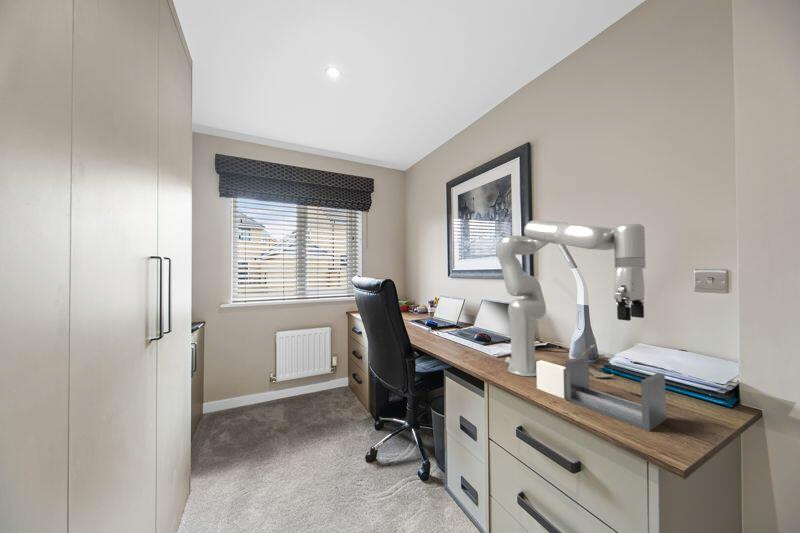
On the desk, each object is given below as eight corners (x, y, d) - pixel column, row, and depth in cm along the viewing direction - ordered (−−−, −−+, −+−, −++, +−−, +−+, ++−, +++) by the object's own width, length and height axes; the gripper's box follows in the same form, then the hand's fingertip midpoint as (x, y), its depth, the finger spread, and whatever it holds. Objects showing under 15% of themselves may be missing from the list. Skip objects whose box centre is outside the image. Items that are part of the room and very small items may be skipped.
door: (536, 388, 104) (536, 361, 104) (541, 386, 105) (541, 360, 106) (564, 398, 95) (563, 369, 96) (569, 396, 97) (568, 367, 97)
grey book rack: (566, 400, 94) (565, 361, 94) (584, 392, 100) (583, 355, 101) (649, 431, 75) (647, 382, 76) (666, 419, 81) (664, 374, 82)
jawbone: (594, 380, 125) (617, 376, 111) (578, 384, 124) (599, 380, 111) (579, 349, 131) (598, 342, 118) (564, 352, 130) (582, 345, 117)
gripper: (627, 264, 95) (628, 314, 95) (602, 264, 86) (604, 319, 86) (655, 264, 89) (657, 317, 88) (632, 263, 80) (634, 323, 79)
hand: (630, 318), depth 87 cm, fingers open, 9 cm apart
